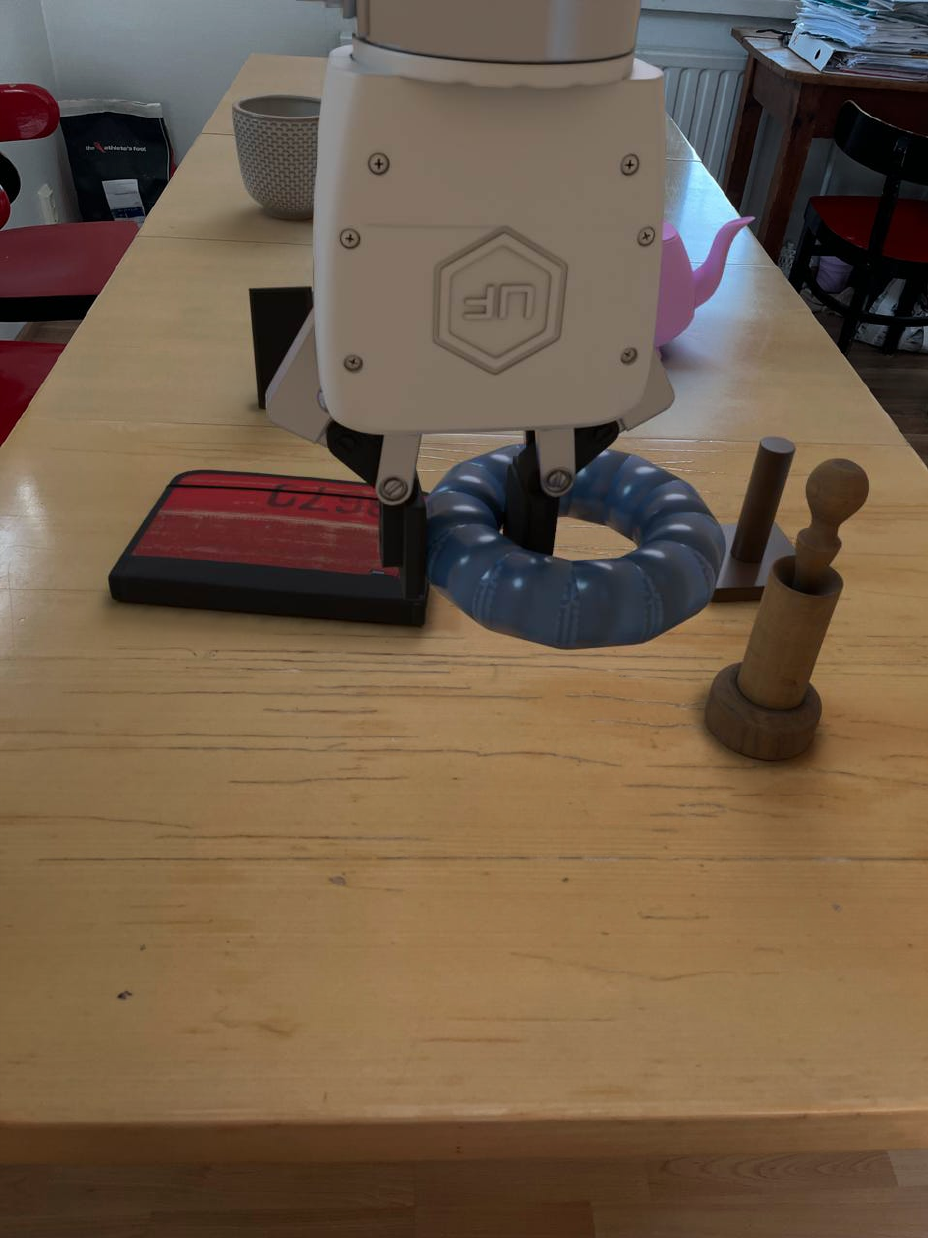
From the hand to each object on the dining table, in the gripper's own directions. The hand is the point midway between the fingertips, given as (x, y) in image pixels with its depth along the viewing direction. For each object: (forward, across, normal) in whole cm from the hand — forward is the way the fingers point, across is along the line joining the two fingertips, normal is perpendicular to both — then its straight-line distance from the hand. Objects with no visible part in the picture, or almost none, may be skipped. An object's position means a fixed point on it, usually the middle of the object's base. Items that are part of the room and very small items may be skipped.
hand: (464, 570), depth 37 cm
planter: (+19, -4, +110) cm, 112 cm away
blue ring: (-1, +4, 0) cm, 4 cm away
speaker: (+20, -6, +58) cm, 61 cm away
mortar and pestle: (+21, +21, +10) cm, 31 cm away
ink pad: (+20, -6, +32) cm, 38 cm away
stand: (+20, +26, +26) cm, 43 cm away
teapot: (+20, +30, +68) cm, 76 cm away
